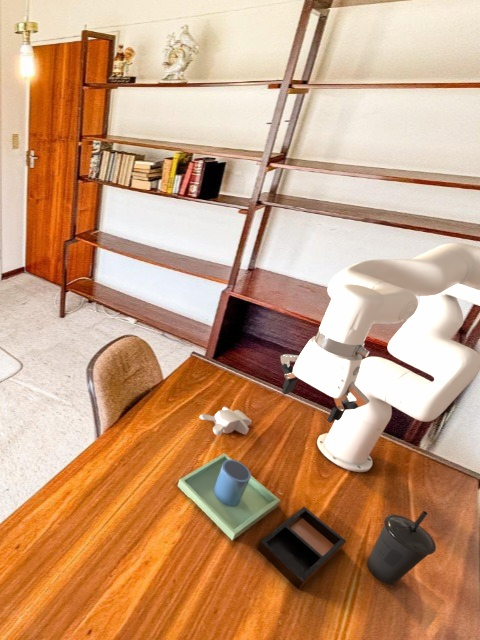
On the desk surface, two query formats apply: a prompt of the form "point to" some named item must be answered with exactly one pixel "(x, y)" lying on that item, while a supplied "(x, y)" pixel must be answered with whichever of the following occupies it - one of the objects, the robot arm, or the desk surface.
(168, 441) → the desk surface
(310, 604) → the desk surface
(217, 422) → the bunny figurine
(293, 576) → the black divided tray
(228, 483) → the blue cup
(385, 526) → the drinking cup
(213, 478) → the tray
